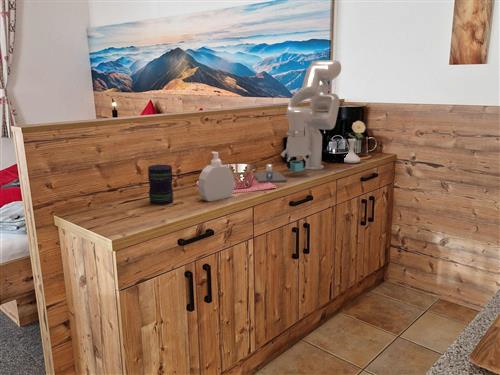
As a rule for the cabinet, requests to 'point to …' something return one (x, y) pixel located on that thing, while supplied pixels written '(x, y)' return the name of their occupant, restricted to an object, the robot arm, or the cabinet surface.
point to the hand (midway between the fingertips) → (296, 167)
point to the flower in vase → (357, 128)
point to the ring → (296, 166)
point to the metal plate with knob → (270, 175)
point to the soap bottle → (216, 181)
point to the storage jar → (160, 184)
